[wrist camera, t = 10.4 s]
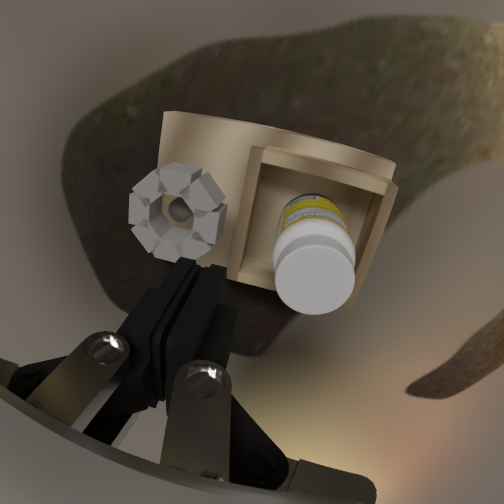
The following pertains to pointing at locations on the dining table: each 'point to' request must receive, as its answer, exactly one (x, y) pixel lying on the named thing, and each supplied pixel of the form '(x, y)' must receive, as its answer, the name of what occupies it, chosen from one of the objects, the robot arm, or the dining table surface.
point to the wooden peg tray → (274, 189)
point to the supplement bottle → (313, 255)
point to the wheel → (196, 197)
